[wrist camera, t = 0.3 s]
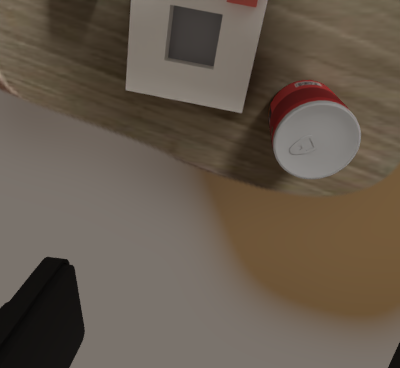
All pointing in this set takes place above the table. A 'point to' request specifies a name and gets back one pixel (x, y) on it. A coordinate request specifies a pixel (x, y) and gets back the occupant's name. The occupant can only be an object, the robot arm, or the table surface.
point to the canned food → (312, 130)
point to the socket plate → (194, 49)
